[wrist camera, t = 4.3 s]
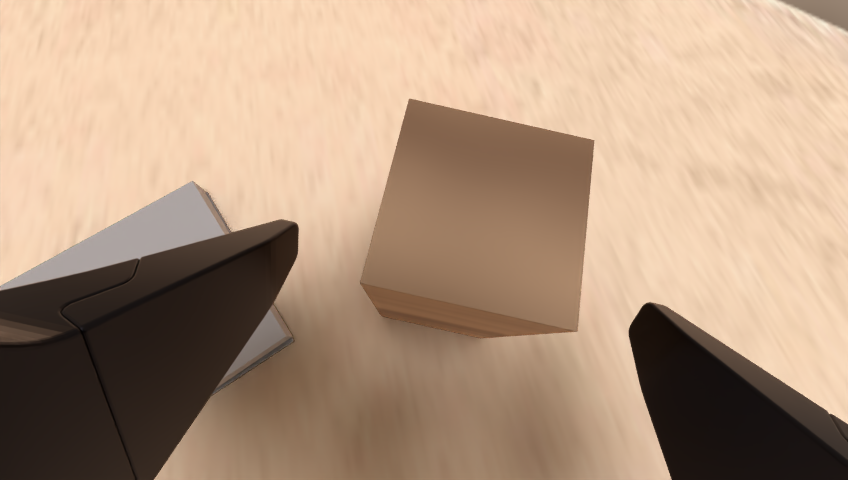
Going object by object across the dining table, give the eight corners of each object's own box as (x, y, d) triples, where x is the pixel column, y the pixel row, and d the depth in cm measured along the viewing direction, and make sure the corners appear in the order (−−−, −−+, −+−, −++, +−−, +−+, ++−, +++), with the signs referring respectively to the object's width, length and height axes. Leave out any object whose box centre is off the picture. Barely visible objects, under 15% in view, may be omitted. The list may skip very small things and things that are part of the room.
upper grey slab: (101, 466, 15) (81, 474, 14) (21, 289, 17) (-1, 286, 16) (292, 336, 17) (286, 335, 16) (203, 189, 19) (192, 180, 18)
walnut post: (481, 338, 18) (577, 331, 8) (381, 315, 18) (360, 282, 8) (496, 242, 19) (594, 140, 10) (404, 221, 19) (409, 98, 10)
